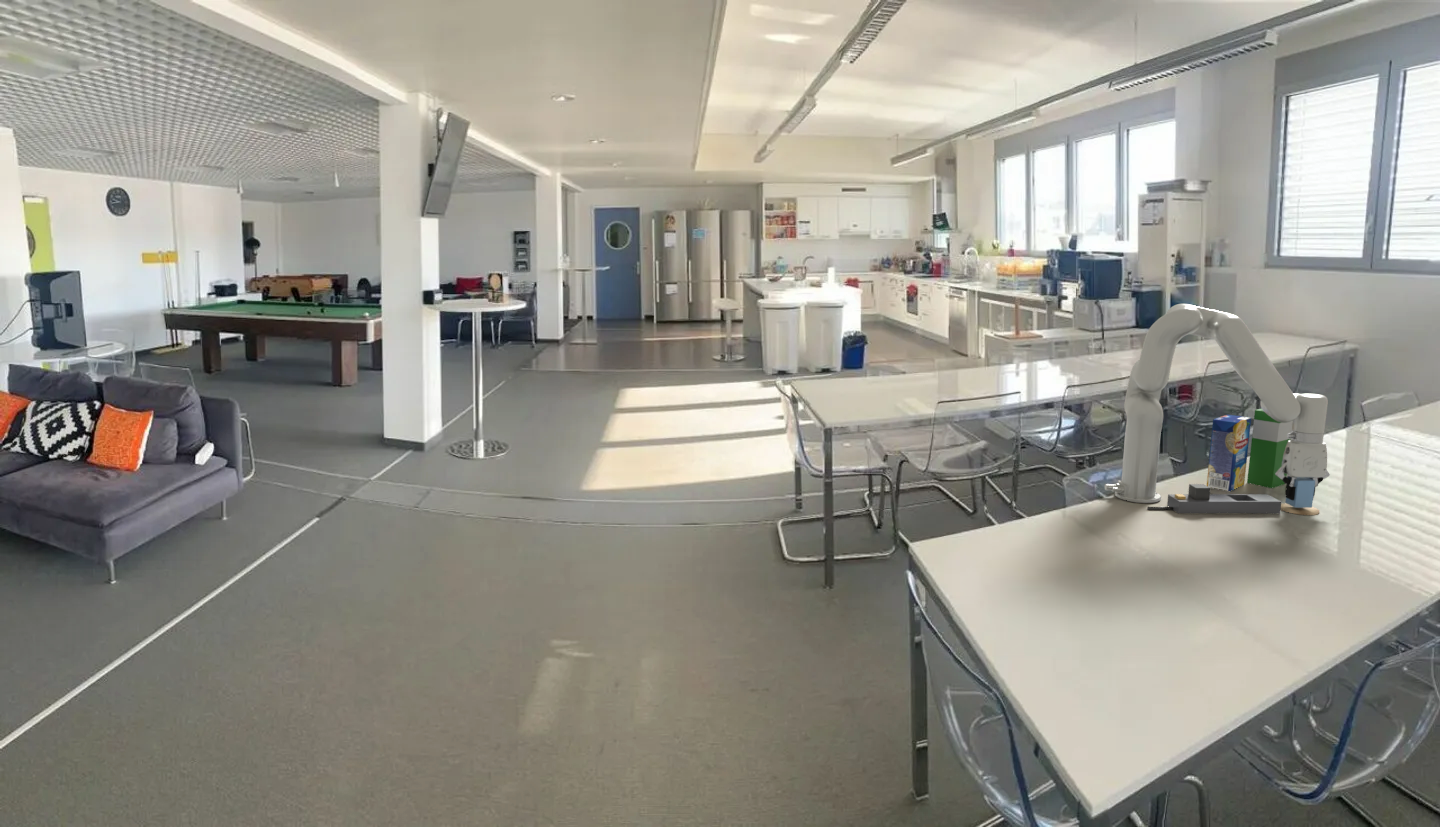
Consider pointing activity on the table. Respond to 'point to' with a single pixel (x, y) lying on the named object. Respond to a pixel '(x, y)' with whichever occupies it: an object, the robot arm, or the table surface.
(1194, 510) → the power strip
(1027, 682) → the table surface
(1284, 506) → the coaster
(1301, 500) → the block
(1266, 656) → the table surface
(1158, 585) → the table surface
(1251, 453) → the hardback book
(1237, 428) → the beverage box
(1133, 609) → the table surface
